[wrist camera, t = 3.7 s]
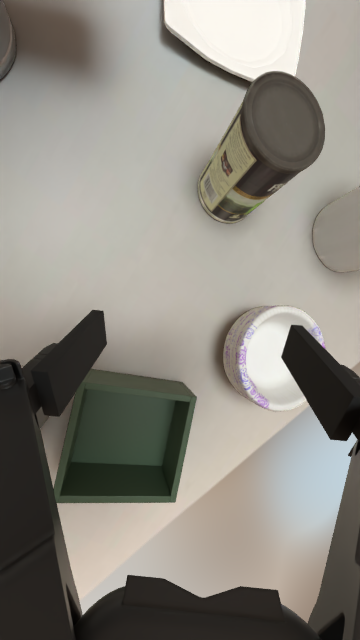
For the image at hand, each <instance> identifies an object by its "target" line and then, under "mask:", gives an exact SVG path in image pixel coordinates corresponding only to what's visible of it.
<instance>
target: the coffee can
mask: <svg viewBox="0 0 360 640" xmlns="http://www.w3.org/2000/svg"><path fill="white" fill-rule="evenodd" d="M324 139H325V125H324V119H323V114H322V111H321V108H320V106H319V104H318V102H317V100H316V98H315V97H314V95H313V93H312V92H311V91H310V89H309V88H308V87H307V86H306V85H305V84H304V83H303V82H302V81H300V80H299V79H298V78H296V77H295V76H293V75H291V74H288V73H285V72H282V71H270V72H266V73H264V74H262V75H260V76H259V77H257V78H256V79H255V80H254V81H253V82H252V84H251V85H250V87H249V89H248V90H247V92H246V95H245V97H244V100H243V102H242V104H241V106H240V107H239V109H238V111H237V113H236V115H235V116H234V118H233V120H232V122H231V123H230V125H229V127H228V129H227V130H226V132H225V134H224V136H223V137H222V139H221V141H220V143H219V144H218V146H217V148H216V150H215V152H214V153H213V155H212V157H211V159H210V160H209V162H208V164H207V166H206V167H205V169H204V170H203V172H202V173H201V175H200V178H199V181H198V194H199V199H200V201H201V204H202V206H203V207H204V209H205V210H206V211H207V213H208V214H209V215H210V216H212V217H213V218H214V219H216V220H218V221H220V222H223V223H236V222H238V221H241V220H242V219H244V218H245V217H246V216H247V215H248V214H249V213H250V212H251V211H253V210H254V209H255V208H256V207H258V206H259V205H260V204H261V203H262V202H264V201H265V200H266V199H267V198H269V197H270V196H271V195H272V194H274V193H275V192H276V191H277V190H279V189H280V188H281V187H282V186H283V185H285V184H286V183H287V182H288V181H290V180H291V179H292V178H293V177H295V176H296V175H297V174H298V173H299V172H301V171H303V170H304V169H306V168H307V167H309V166H310V165H311V164H313V163H314V161H315V160H316V159H317V158H318V156H319V155H320V153H321V151H322V148H323V145H324Z"/></svg>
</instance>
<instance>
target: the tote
mask: <svg viewBox="0 0 360 640" xmlns="http://www.w3.org/2000/svg"><path fill="white" fill-rule="evenodd" d="M196 398H197V397H196V396H195V395H194V394H193V393H192V392H191V391H190V390H189V389H188V387H187V386H186V385H185V384H184V383H183V382H177V381H170V380H163V379H156V378H150V377H143V376H136V375H129V374H122V373H115V372H109V371H102V370H95V369H90V371H89V372H88V374H87V375H86V377H85V378H84V380H83V381H82V383H81V384H80V386H79V387H78V389H77V390H76V393H75V398H74V402H73V406H72V411H71V415H70V419H69V424H68V428H67V432H66V437H65V441H64V445H63V450H62V454H61V459H60V463H59V467H58V472H57V476H56V480H55V485H54V489H53V490H54V495H55V499H56V503H169V502H175V501H176V496H177V491H178V486H179V482H180V477H181V472H182V467H183V462H184V457H185V452H186V447H187V442H188V437H189V433H190V428H191V423H192V418H193V413H194V408H195V403H196Z"/></svg>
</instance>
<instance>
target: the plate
mask: <svg viewBox="0 0 360 640" xmlns="http://www.w3.org/2000/svg"><path fill="white" fill-rule="evenodd" d="M305 5H306V0H164V24H165V25H166V27H167V29H168V30H169V31H170V32H171V33H172V34H173V35H175V36H176V37H177V38H178V39H180V40H181V41H182V42H184V43H185V44H186V45H187V46H189V47H190V48H191V49H193V50H194V51H195V52H196V53H198V54H199V55H200V56H201V57H203V58H204V59H205V60H207V61H209V62H211V63H212V64H214V65H216V66H218V67H220V68H222V69H224V70H225V71H227V72H229V73H231V74H234V75H236V76H239V77H241V78H243V79H246V80H248V81H251V82H253V81H254V80H255V79H256V78H257V77H259V76H260V75H262V74H264V73H266V72H270V71H282V72H285V73H288V74H291V75H293V76H295V75H296V70H297V65H298V60H299V54H300V48H301V41H302V35H303V25H304V16H305Z"/></svg>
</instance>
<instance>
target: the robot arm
mask: <svg viewBox="0 0 360 640" xmlns="http://www.w3.org/2000/svg"><path fill="white" fill-rule="evenodd" d="M15 53H16V38H15V33H14V29H13V26H12V23H11V20H10V18H9V15H8V12H7V10H6V7H5V5H4V3H3V1H2V0H0V79H2V78H3V77H4V76H5V75H6V74H7V72H8V71H9V69H10V68H11V66H12V64H13V61H14V58H15ZM106 345H107V341H106V331H105V322H104V313H103V311H99V310H92V311H91V312H90V313H89V314H88V315H87V316H86V317H85V318H84V319H83V320H82V321H81V322H80V323H79V324H78V325H77V326H76V327H75V328H74V329H73V330H72V331H71V332H70V333H69V334H68V335H66V336H65V337H64V338H63V339H62V340H61V341H60V342H59V343H58V344H56V343H53V344H51V345H49V346H47V347H45V348H44V349H43V350H41V351H40V352H39V353H38V355H36V356H35V357H34V358H33V359H32V360H30V361H29V362H28V363H27V364H26V365H25V366H24V367H23V368H22V369H21V366H20V363H19V362H18V361H17V360H14V359H7V360H1V361H0V640H360V378H359V376H357V375H356V373H355V372H354V371H352V370H351V369H349V368H347V367H346V366H344V365H340V364H339V363H338V362H337V361H336V360H335V359H334V358H333V357H332V356H331V355H330V354H329V353H328V352H327V350H326V349H325V348H324V347H323V346H322V345H321V344H320V343H319V342H318V341H317V340H316V339H315V338H314V337H313V336H312V335H311V334H310V333H309V332H308V331H307V330H306V329H305V328H304V327H303V326H302V325H291V327H290V330H289V333H288V336H287V340H286V343H285V346H284V349H283V352H282V356H281V358H282V360H283V362H284V363H285V365H286V367H287V368H288V370H289V372H290V373H291V375H292V377H293V378H294V380H295V382H296V383H297V385H298V387H299V388H300V390H301V391H302V393H303V395H304V396H305V398H306V400H307V401H308V403H309V405H310V406H311V408H312V410H313V411H314V413H315V415H316V416H317V418H318V420H319V421H320V423H321V424H322V426H323V428H324V430H325V431H326V433H327V434H328V436H329V438H330V439H331V440H341V441H347V440H348V438H349V437H350V435H351V433H352V432H353V434H354V435H355V436H356V438H357V439H358V440H357V442H356V443H355V445H354V446H353V448H352V449H351V451H350V453H349V454H348V456H350V457H351V456H352V457H351V462H350V465H349V470H348V474H347V478H346V482H345V486H344V491H343V495H342V499H341V503H340V508H339V512H338V516H337V520H336V525H335V529H334V533H333V537H332V541H331V546H330V550H329V555H328V559H327V563H326V567H325V571H324V575H323V579H322V584H321V588H320V592H319V596H318V599H317V602H316V604H315V607H314V608H313V611H312V613H311V615H310V618H309V621H308V624H307V623H306V622H305V621H304V620H303V619H301V618H300V617H299V616H298V615H297V614H296V613H294V612H293V611H292V610H290V609H289V608H287V607H286V606H284V605H282V604H281V602H280V598H279V593H278V590H271V589H261V588H251V587H241V586H240V587H237V588H234V589H231V590H228V591H225V592H222V593H219V594H216V595H213V596H209V597H206V598H201V597H198V596H196V595H194V594H192V593H191V592H189V591H187V590H185V589H183V588H181V587H179V586H177V585H175V584H173V583H171V582H169V581H167V580H166V579H162V578H153V577H142V576H133V575H128V576H127V581H126V586H125V587H122V588H118V589H116V590H114V591H112V592H110V593H109V594H107V595H105V596H104V597H102V598H101V599H100V600H98V601H97V602H96V603H95V604H94V605H93V606H91V607H90V608H89V609H88V610H87V611H86V613H85V614H84V615H82V611H81V607H80V602H79V598H78V594H77V590H76V586H75V583H74V579H73V575H72V571H71V567H70V563H69V558H68V553H67V549H66V544H65V540H64V535H63V531H62V526H61V522H60V517H59V513H58V508H57V504H56V499H55V495H54V490H53V485H52V481H51V476H50V472H49V467H48V463H47V458H46V454H45V449H44V445H43V440H42V436H41V431H40V426H39V422H38V418H37V415H36V413H37V412H38V410H39V409H40V408H41V407H42V410H43V413H44V415H47V416H60V415H61V413H62V412H63V410H64V409H65V407H66V406H67V404H68V403H69V401H70V400H71V398H72V397H73V395H74V393H75V392H76V390H77V389H78V387H79V386H80V384H81V383H82V381H83V380H84V378H85V377H86V375H87V374H88V372H89V371H90V369H91V367H92V366H93V364H94V363H95V361H96V360H97V358H98V357H99V355H100V354H101V352H102V351H103V349H104V348H105V346H106Z"/></svg>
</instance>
